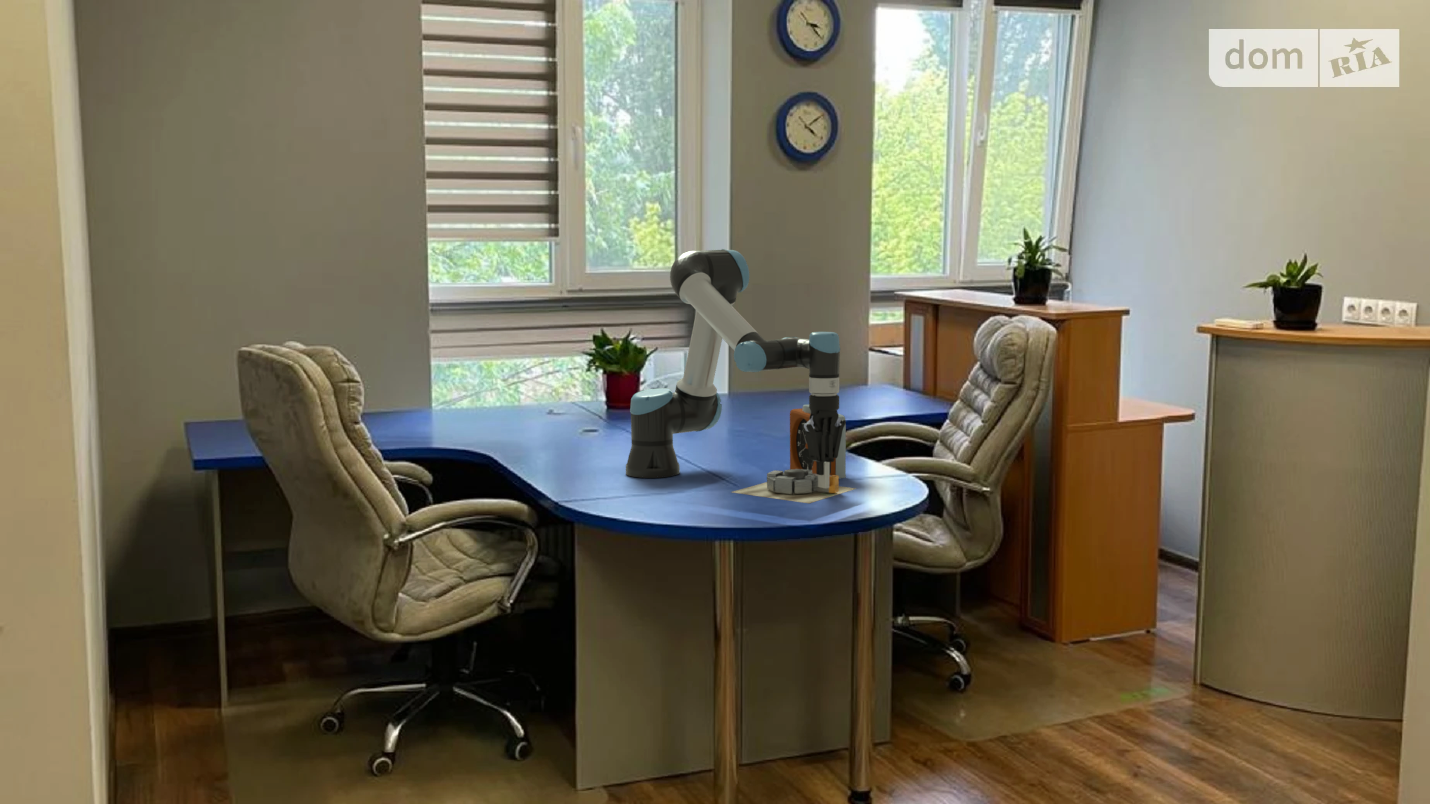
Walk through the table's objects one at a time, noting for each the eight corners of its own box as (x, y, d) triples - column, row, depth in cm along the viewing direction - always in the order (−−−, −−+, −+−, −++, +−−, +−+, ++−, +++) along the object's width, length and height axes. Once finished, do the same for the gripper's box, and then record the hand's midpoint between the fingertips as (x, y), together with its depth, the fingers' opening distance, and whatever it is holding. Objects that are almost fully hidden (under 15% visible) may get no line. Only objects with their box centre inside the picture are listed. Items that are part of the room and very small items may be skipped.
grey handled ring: (760, 491, 342) (760, 475, 341) (781, 482, 353) (781, 466, 353) (826, 497, 333) (826, 480, 333) (846, 487, 345) (846, 471, 344)
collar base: (730, 497, 343) (730, 472, 343) (780, 483, 361) (780, 460, 360) (809, 509, 329) (809, 483, 328) (856, 494, 346) (856, 469, 345)
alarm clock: (788, 474, 375) (788, 400, 372) (817, 471, 378) (817, 399, 375) (817, 486, 358) (816, 409, 355) (846, 483, 361) (846, 407, 358)
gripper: (814, 397, 328) (814, 492, 331) (853, 393, 336) (852, 486, 339) (794, 394, 334) (794, 488, 337) (833, 390, 342) (832, 482, 345)
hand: (823, 487), depth 338 cm, fingers closed
